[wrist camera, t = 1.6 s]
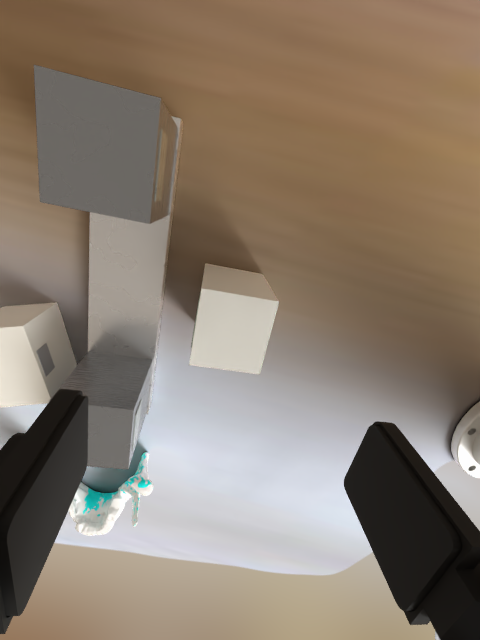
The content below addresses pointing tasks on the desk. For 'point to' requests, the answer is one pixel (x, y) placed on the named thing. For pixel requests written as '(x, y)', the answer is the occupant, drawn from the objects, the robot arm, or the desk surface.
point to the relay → (33, 354)
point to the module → (233, 320)
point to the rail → (113, 239)
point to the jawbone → (109, 502)
